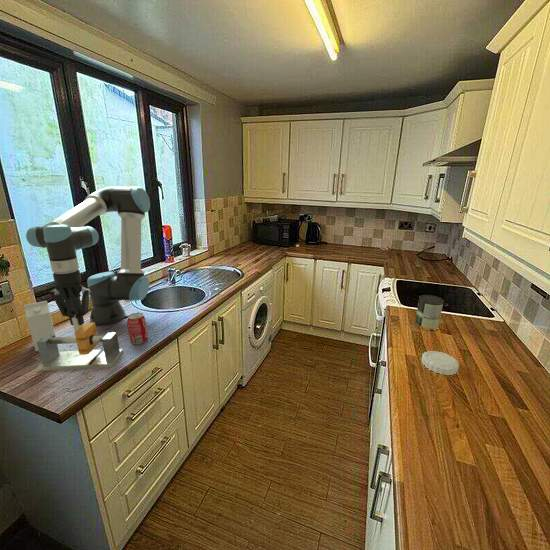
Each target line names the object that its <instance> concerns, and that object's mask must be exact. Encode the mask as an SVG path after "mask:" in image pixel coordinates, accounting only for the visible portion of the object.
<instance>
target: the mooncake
mask: <svg viewBox="0 0 550 550" xmlns="http://www.w3.org/2000/svg"><path fill="white" fill-rule="evenodd" d="M421 361H422V363H423V365H425V367H426V368H429V370H432V371H434V372H436V373H440V374H445V375H453V374H457V373H458V372H459V369H460V363H459V362H458V360H457V359H456V358H454V357H453V356H450V354H448V353H445V352H442V351H435V350H428V351H425V352H423V354H422V356H421ZM421 361H420V362H421ZM422 363H421V364H422ZM425 367H424V368H425ZM429 370H428V371H429ZM456 372H457V373H456ZM453 376H454V375H453Z"/></svg>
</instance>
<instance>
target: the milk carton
mask: <svg viewBox="0 0 550 550" xmlns="http://www.w3.org/2000/svg"><path fill="white" fill-rule="evenodd" d="M23 307H24V312H25V319H26V322H27V325H28V328H29V332H30V335H31V339H32V343H33V346H34V347H33V348H34V351H35V352H39V349H38V345H37V341H39V340H40V339H41V338H43V337H44V336H45V335H55V337H57V335H56V331H55V327H54V324H53V320H52V315H51V312H50V307H49V304H48V301H47V300H43V301H38V302H32V303H28V304H23ZM58 345H59V344H57V346H58Z"/></svg>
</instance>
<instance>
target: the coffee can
mask: <svg viewBox="0 0 550 550" xmlns="http://www.w3.org/2000/svg"><path fill="white" fill-rule="evenodd" d="M444 303H445V300H444V299H443V297H440V296H436V295H433V294H432V295H431V294H422V295H419V296H418V303H417V308H416V309H417V311H416V314H415V321H414V323H415V322H416V324H418V325H419V326H421V327H424V328H430V329H435V328H438V329H439V326H440V321H441V316H442V312H443V306H444Z"/></svg>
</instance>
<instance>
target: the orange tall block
mask: <svg viewBox="0 0 550 550" xmlns="http://www.w3.org/2000/svg"><path fill="white" fill-rule="evenodd" d="M82 325H83V326H82V327H81V328H80V329H79V330H77V331H76V332H75V331H74V335H75V336H74V337H76V341H77V343H76V344H77V349H78V350H77V351H79V354H80V355H85V354H89V353H90V352H91V351H92V350H95V348H96V347H97V346H98V345H99V343H100V342H95V343H90V341H89V337H90V336H93V335H95V336H98V332H97V325H95V323H91V322H86V323H84V324H82Z"/></svg>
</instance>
